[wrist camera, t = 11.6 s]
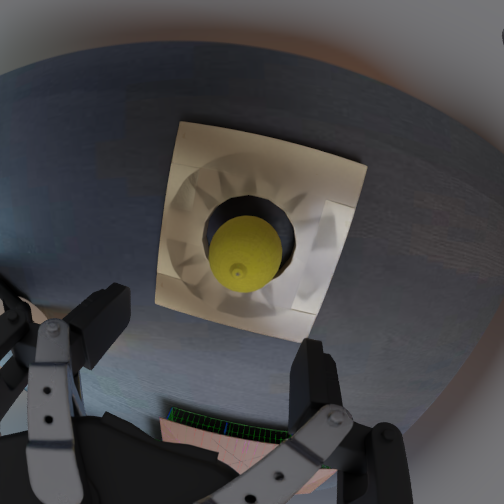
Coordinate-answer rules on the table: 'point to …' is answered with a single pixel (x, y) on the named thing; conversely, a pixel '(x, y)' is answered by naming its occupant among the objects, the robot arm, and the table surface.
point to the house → (231, 447)
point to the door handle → (13, 301)
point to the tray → (264, 186)
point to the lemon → (245, 254)
